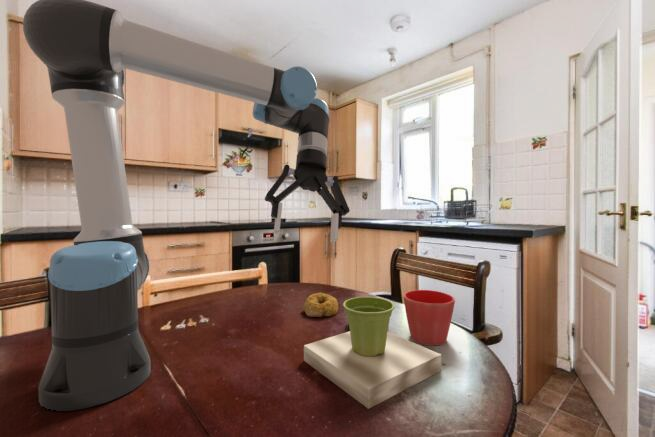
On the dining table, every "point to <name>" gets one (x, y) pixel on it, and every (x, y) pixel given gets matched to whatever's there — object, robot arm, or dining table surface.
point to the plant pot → (368, 324)
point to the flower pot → (429, 315)
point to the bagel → (320, 305)
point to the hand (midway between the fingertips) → (306, 236)
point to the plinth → (372, 366)
